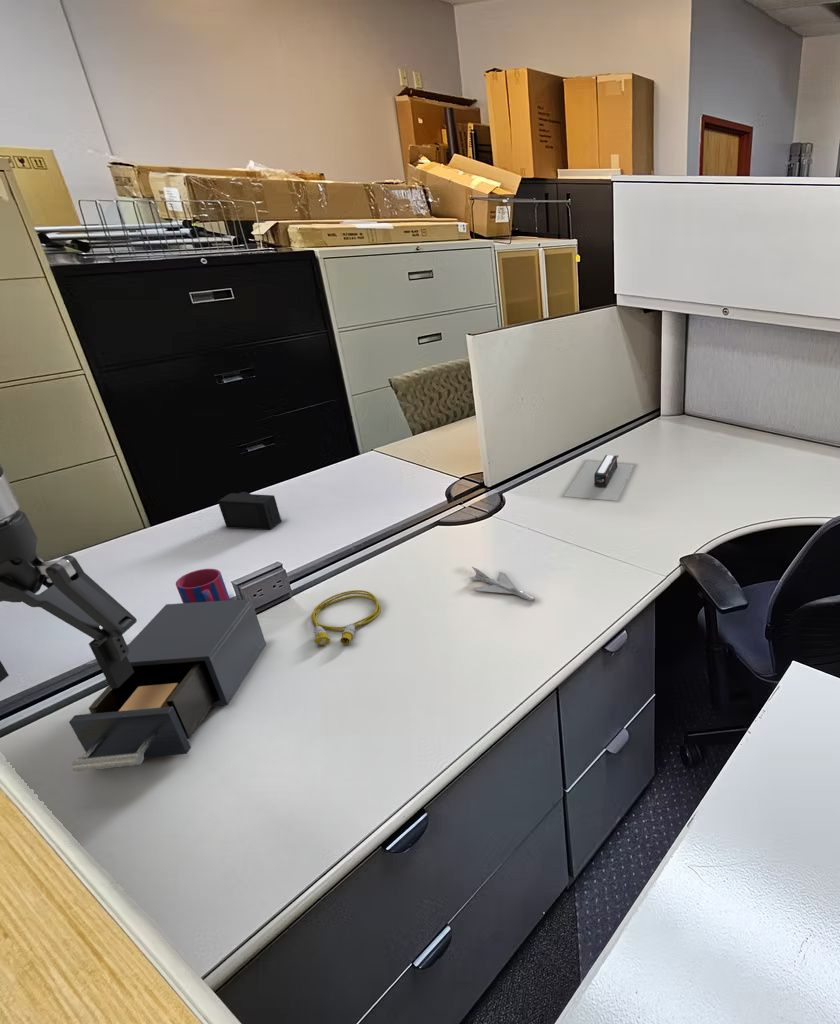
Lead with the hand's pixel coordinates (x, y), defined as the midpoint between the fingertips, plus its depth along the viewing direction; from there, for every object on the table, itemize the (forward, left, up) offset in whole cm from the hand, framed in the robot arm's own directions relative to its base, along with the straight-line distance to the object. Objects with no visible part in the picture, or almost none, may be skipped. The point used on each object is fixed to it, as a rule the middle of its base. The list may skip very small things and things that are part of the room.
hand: (59, 682), depth 72 cm
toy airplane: (+44, +44, -19) cm, 65 cm away
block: (0, +10, -17) cm, 20 cm away
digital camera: (-13, +77, -19) cm, 80 cm away
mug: (-7, +41, -19) cm, 46 cm away
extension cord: (+17, +36, -19) cm, 44 cm away
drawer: (0, +9, -18) cm, 20 cm away
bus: (+69, +95, -19) cm, 119 cm away
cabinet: (0, +23, -19) cm, 30 cm away
